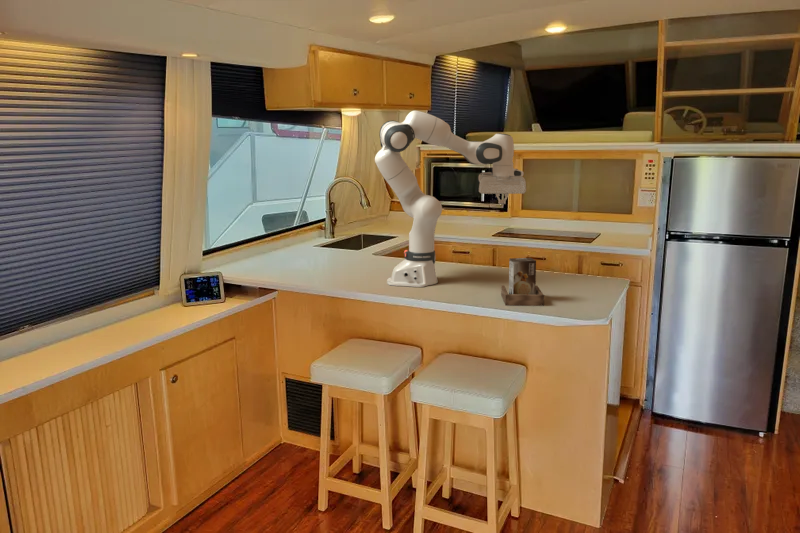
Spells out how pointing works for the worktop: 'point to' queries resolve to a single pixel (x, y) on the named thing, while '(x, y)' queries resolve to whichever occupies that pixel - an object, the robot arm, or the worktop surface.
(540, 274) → the worktop surface
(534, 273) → the coffee box
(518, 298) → the box
